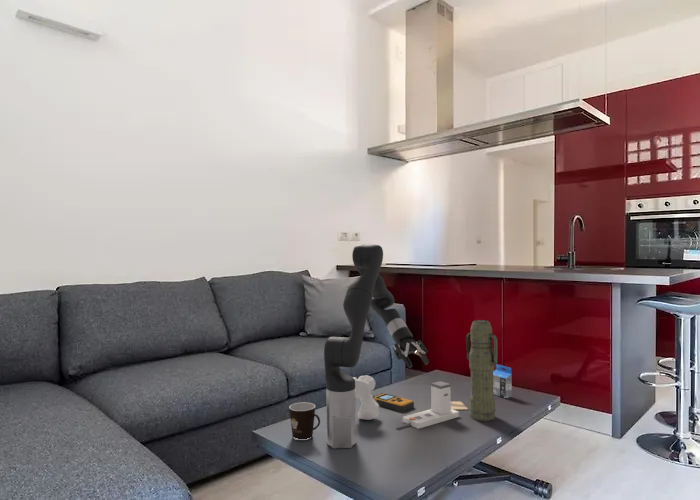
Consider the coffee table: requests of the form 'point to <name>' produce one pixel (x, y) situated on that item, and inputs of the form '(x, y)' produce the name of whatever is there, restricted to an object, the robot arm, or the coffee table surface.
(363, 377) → the white irregular upright piece
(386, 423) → the coffee table surface
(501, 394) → the label tape box
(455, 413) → the power strip
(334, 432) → the robot arm
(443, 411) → the block
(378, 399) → the electronic device
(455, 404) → the cork coaster
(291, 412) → the coffee mug
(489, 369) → the thermos
